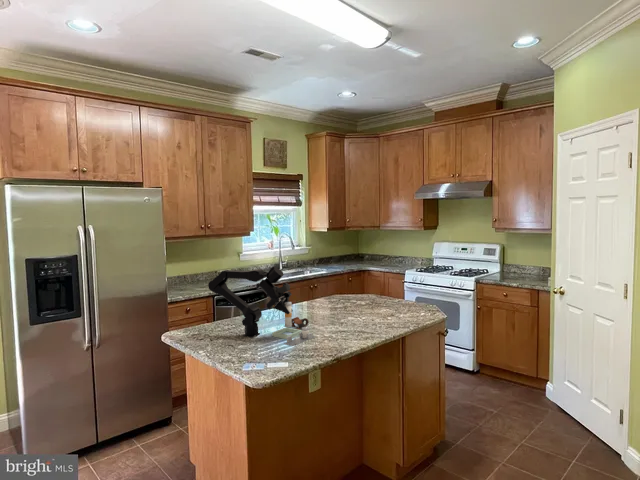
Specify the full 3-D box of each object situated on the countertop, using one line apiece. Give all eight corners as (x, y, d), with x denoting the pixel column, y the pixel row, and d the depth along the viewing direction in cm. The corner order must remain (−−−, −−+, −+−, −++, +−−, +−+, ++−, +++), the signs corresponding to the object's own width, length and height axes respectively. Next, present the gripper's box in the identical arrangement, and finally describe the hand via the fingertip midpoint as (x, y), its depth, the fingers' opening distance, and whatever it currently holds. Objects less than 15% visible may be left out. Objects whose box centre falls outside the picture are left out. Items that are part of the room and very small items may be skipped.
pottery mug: (292, 335, 212) (286, 320, 214) (289, 338, 220) (283, 324, 223) (313, 326, 217) (306, 312, 219) (309, 330, 225) (302, 316, 227)
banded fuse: (283, 327, 205) (283, 303, 204) (286, 325, 208) (285, 301, 207) (290, 327, 204) (290, 303, 203) (293, 325, 207) (292, 302, 206)
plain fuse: (300, 338, 202) (300, 328, 202) (305, 336, 205) (304, 326, 205) (306, 339, 200) (306, 329, 200) (310, 337, 203) (310, 327, 202)
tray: (272, 338, 207) (272, 332, 207) (285, 332, 216) (285, 327, 215) (289, 341, 201) (289, 335, 201) (302, 335, 210) (302, 330, 209)
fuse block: (283, 345, 194) (282, 338, 194) (306, 336, 207) (306, 329, 207) (292, 348, 190) (292, 340, 190) (315, 338, 204) (315, 331, 203)
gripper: (271, 281, 197) (293, 306, 194) (287, 275, 214) (308, 298, 211) (257, 297, 200) (278, 321, 197) (274, 290, 218) (294, 312, 215)
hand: (290, 312), depth 205 cm, fingers closed on banded fuse, 3 cm apart
